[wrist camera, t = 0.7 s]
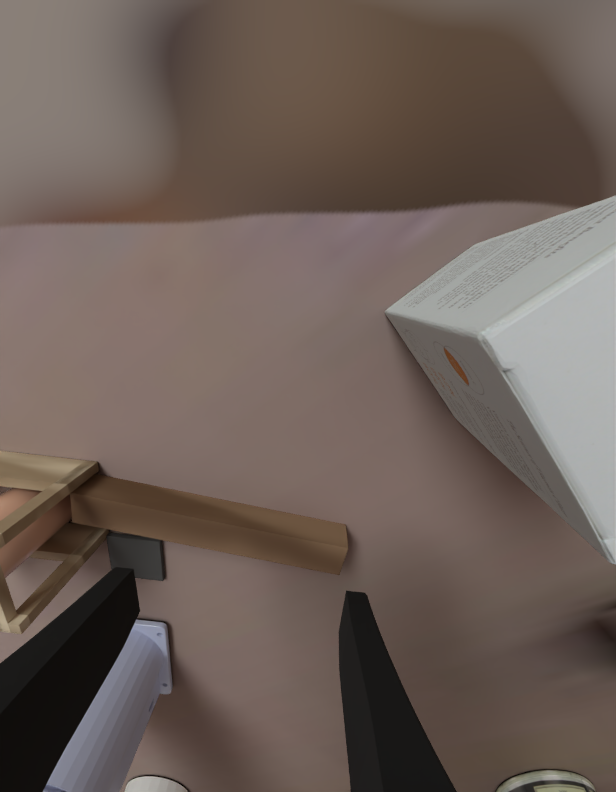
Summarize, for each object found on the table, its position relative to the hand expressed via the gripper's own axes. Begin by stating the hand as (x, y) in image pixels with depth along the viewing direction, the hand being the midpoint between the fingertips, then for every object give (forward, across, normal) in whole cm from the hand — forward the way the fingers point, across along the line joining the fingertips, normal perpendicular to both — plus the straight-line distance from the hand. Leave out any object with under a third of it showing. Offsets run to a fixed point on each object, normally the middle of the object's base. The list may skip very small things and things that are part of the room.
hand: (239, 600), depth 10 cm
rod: (+10, +4, +5) cm, 12 cm away
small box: (+10, -10, -8) cm, 16 cm away
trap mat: (+10, +10, +10) cm, 18 cm away
